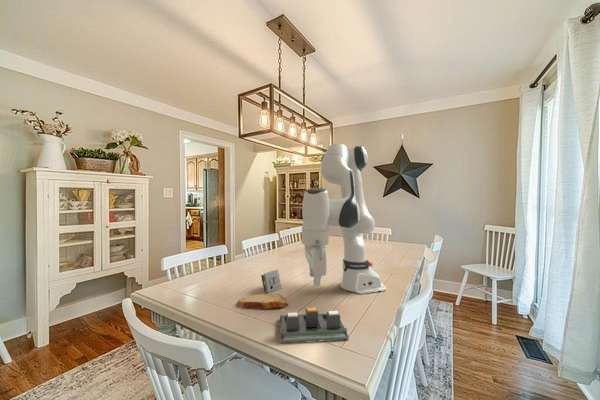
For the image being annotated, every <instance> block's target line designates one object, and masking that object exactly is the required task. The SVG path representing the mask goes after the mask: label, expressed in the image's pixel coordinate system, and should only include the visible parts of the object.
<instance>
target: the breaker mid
mask: <svg viewBox="0 0 600 400" xmlns="http://www.w3.org/2000/svg"><path fill="white" fill-rule="evenodd" d="M305 314H306V326H307V327H317V326H318V314H319V310H318V308H317V307H307V308H305Z"/></svg>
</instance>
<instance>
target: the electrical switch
mask: <svg viewBox="0 0 600 400" xmlns="http://www.w3.org/2000/svg"><path fill="white" fill-rule="evenodd" d="M260 276H261V282H262V288H263V292H266V294H271V292H274V291H277V290H279V289H281V288H282V285H281V284H282V283H281V279H280V273H279V270H278V269H274V270H271V271H268V272H265V273H263V274H261V275H260Z"/></svg>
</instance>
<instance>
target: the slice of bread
mask: <svg viewBox="0 0 600 400" xmlns="http://www.w3.org/2000/svg"><path fill="white" fill-rule="evenodd" d="M288 305H289V303H288V301H287V299H286V298H285V297H284V296H283V295H281V294H278V293H261V294H256V295H255V294H254V295H249V296H246V297H242V298H240V299H238V301H237V303H236V307H237V308H242V309H248V310H249V309H253V310H271V309H272V310H275V309H283V308H286V307H288Z"/></svg>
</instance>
